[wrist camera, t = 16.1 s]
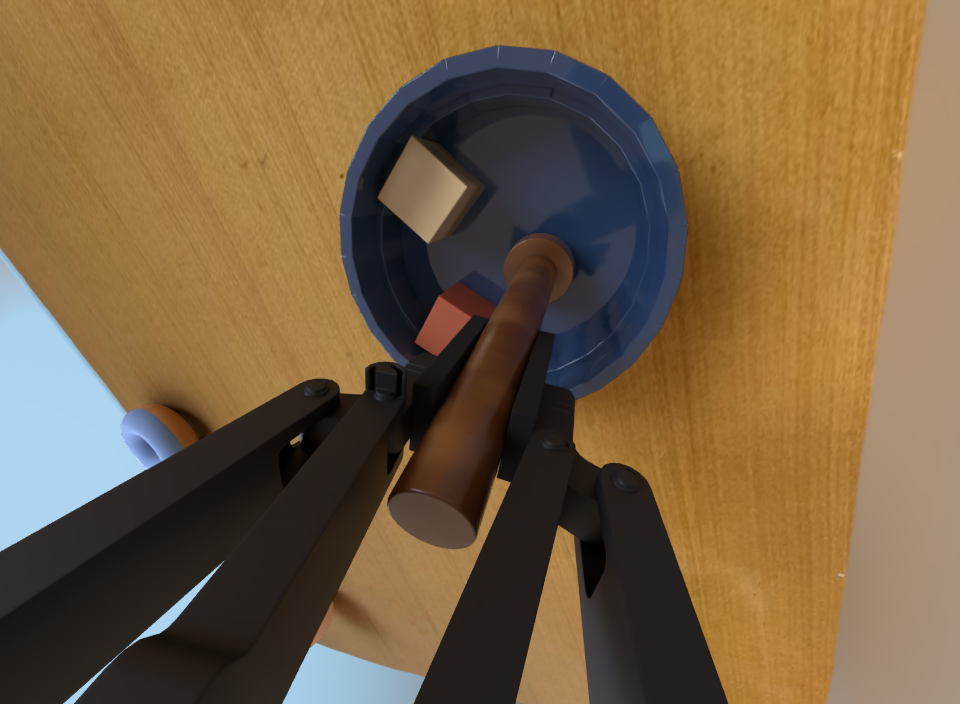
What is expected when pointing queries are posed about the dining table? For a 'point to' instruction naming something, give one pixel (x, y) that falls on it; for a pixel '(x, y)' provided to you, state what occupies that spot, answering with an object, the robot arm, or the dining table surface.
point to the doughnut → (155, 433)
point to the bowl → (524, 206)
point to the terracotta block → (451, 316)
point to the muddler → (480, 404)
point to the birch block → (430, 190)
